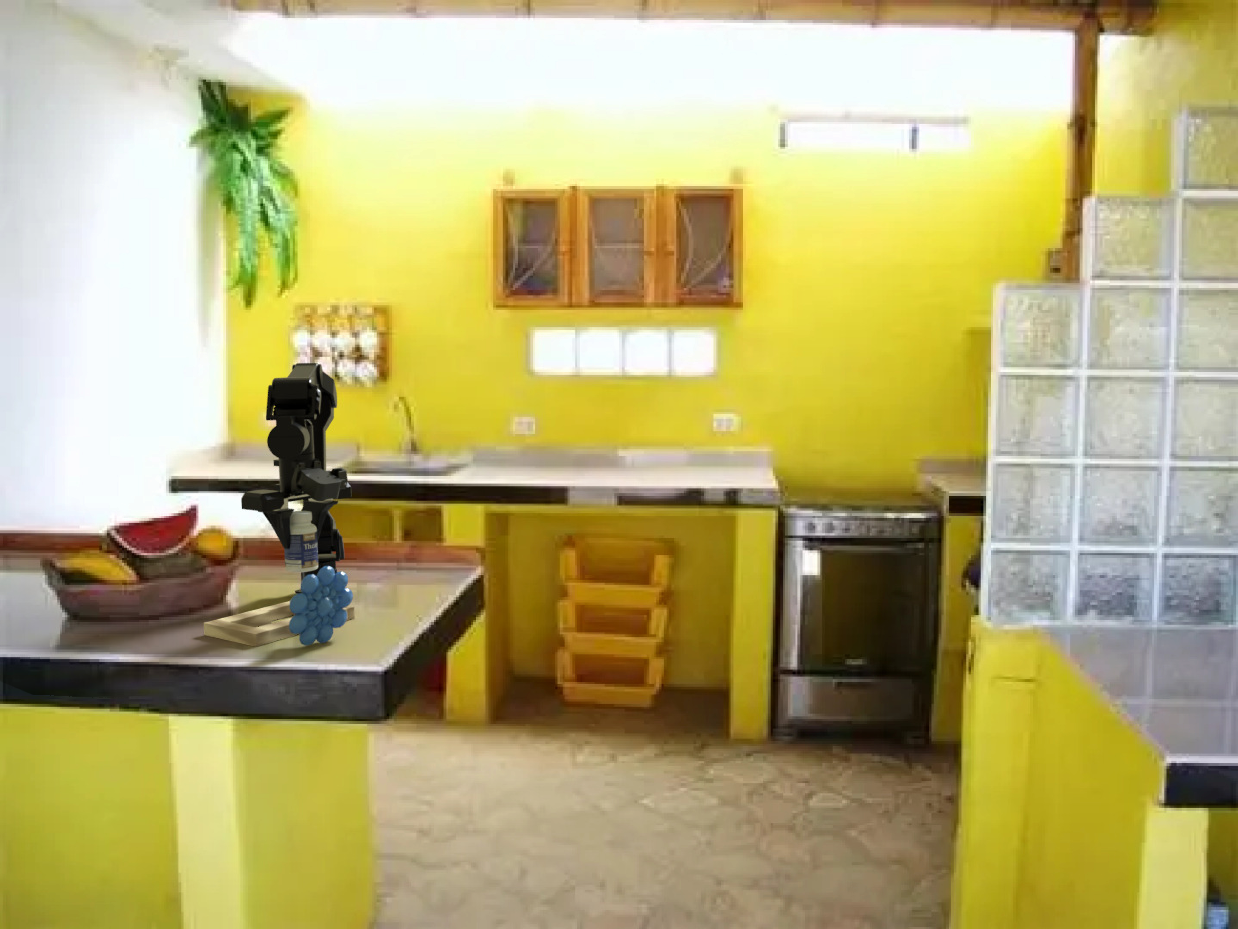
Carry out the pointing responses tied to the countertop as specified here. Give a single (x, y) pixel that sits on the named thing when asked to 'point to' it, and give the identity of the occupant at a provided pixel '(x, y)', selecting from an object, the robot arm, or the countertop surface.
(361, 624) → the countertop surface
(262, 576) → the countertop surface
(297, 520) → the pill bottle
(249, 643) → the wooden frame
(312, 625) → the blue ball flower
